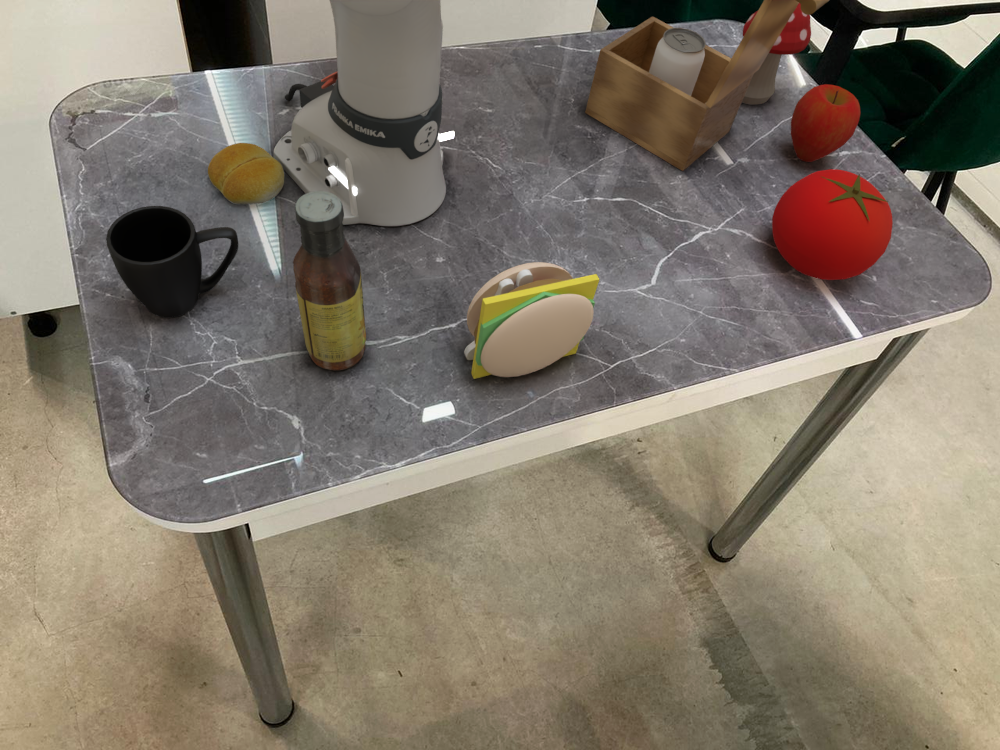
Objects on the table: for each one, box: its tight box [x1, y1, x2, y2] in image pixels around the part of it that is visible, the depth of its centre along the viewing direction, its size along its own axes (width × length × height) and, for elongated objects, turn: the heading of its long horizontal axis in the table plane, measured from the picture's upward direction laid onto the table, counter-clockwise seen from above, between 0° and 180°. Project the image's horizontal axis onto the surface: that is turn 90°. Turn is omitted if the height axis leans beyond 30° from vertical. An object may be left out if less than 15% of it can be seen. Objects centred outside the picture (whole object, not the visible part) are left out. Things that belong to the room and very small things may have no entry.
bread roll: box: [207, 142, 285, 205], centre depth 95 cm, size 8×9×4 cm
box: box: [584, 16, 753, 172], centre depth 110 cm, size 17×13×10 cm
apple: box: [790, 83, 861, 163], centre depth 109 cm, size 9×8×11 cm
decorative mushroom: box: [741, 3, 812, 105], centre depth 115 cm, size 10×9×15 cm
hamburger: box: [463, 261, 600, 380], centre depth 82 cm, size 12×8×12 cm
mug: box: [105, 205, 239, 319], centre depth 82 cm, size 8×12×10 cm
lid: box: [706, 0, 830, 108], centre depth 95 cm, size 18×13×5 cm
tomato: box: [771, 168, 894, 281], centre depth 96 cm, size 13×14×12 cm
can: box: [649, 27, 707, 96], centre depth 108 cm, size 6×6×12 cm
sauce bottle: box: [292, 191, 367, 372], centre depth 76 cm, size 7×6×20 cm
